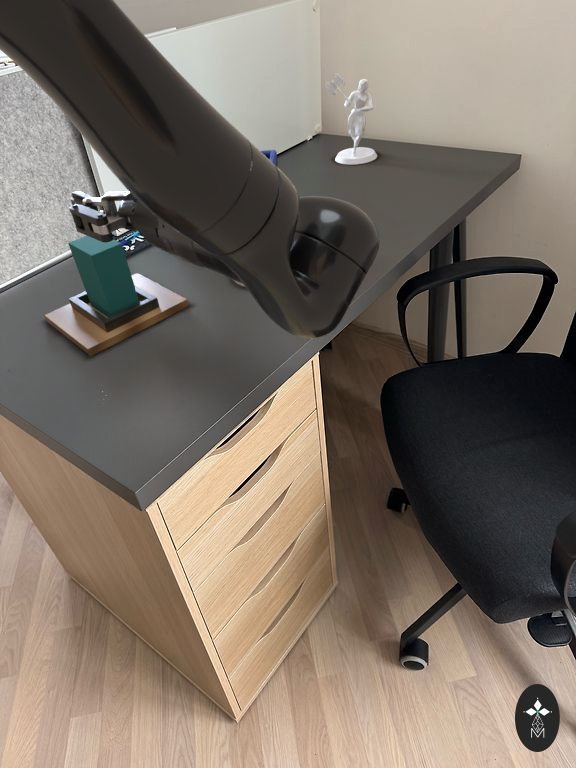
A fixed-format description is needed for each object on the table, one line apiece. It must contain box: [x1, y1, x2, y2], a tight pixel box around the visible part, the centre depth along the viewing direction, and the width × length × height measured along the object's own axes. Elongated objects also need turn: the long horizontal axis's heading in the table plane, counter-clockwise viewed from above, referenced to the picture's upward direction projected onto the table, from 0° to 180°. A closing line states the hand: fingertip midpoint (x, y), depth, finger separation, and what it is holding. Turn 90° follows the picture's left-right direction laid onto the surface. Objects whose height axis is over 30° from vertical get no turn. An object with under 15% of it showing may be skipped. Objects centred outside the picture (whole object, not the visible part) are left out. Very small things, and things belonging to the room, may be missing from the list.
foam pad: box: [68, 235, 140, 317], centre depth 80 cm, size 4×7×10 cm, turn 43°
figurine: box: [324, 72, 378, 166], centre depth 123 cm, size 10×10×18 cm
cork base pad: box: [43, 272, 189, 357], centre depth 83 cm, size 16×14×3 cm
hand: (111, 189), depth 64 cm, fingers open, 8 cm apart
